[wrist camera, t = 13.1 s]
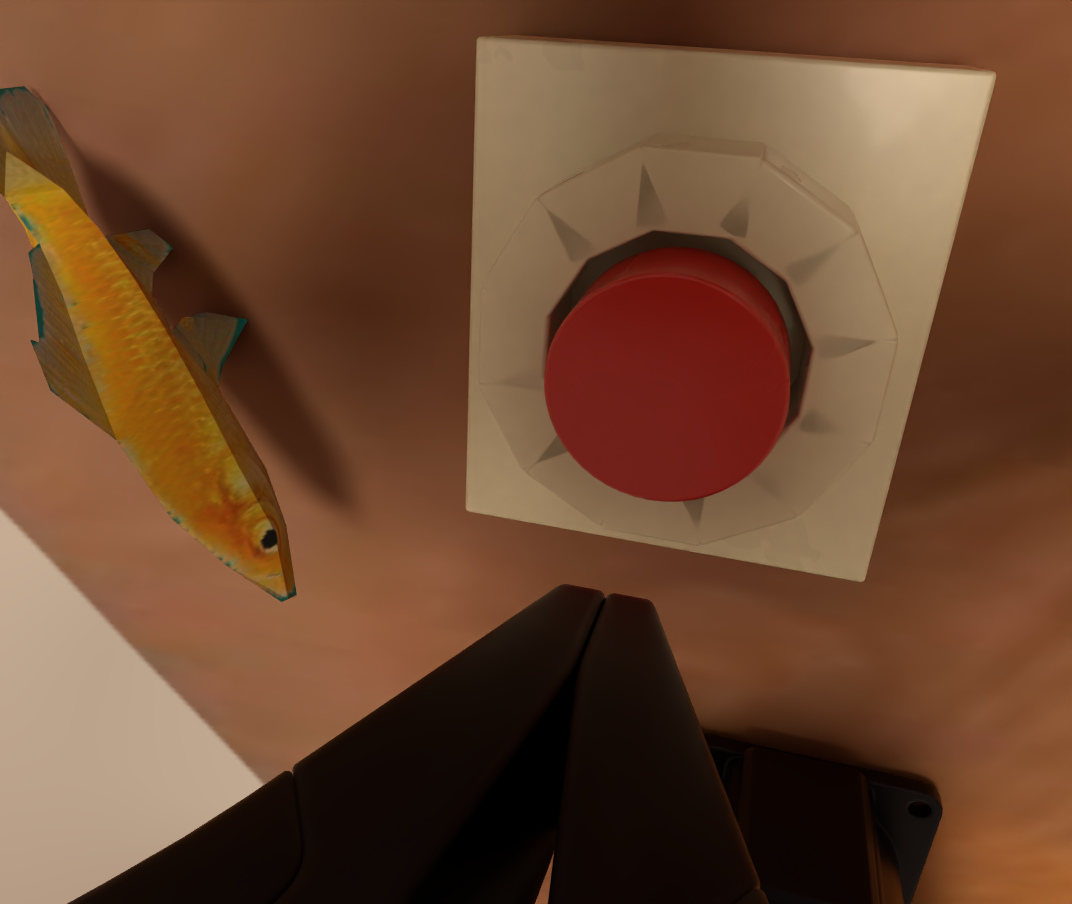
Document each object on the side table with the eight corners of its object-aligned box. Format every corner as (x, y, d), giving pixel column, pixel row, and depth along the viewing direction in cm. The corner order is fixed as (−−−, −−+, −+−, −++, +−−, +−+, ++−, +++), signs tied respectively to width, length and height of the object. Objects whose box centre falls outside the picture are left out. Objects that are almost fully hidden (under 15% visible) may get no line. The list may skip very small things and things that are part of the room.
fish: (386, 535, 21) (253, 634, 16) (324, 569, 22) (182, 671, 17) (100, 63, 20) (-125, 30, 15) (46, 118, 21) (-180, 102, 16)
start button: (769, 471, 15) (767, 522, 13) (560, 438, 16) (536, 482, 14) (810, 259, 13) (812, 289, 12) (575, 233, 14) (550, 258, 13)
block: (857, 528, 19) (871, 641, 15) (495, 466, 20) (434, 557, 17) (972, 65, 15) (1028, 77, 11) (511, 34, 17) (436, 36, 13)
